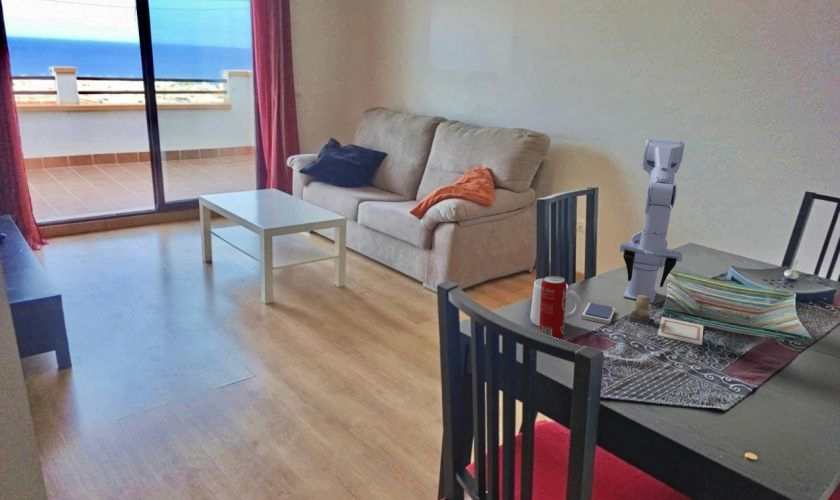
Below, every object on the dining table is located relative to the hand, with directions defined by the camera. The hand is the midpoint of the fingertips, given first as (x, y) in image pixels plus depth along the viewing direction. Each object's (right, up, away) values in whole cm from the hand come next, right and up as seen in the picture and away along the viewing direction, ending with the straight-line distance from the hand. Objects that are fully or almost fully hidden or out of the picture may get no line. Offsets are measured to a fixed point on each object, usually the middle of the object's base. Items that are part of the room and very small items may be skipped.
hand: (645, 282), depth 153 cm
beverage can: (-26, -13, -9) cm, 31 cm away
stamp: (0, -10, +4) cm, 10 cm away
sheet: (+8, -12, -2) cm, 15 cm away
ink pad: (-10, -9, +5) cm, 14 cm away
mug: (-23, -10, -1) cm, 25 cm away
